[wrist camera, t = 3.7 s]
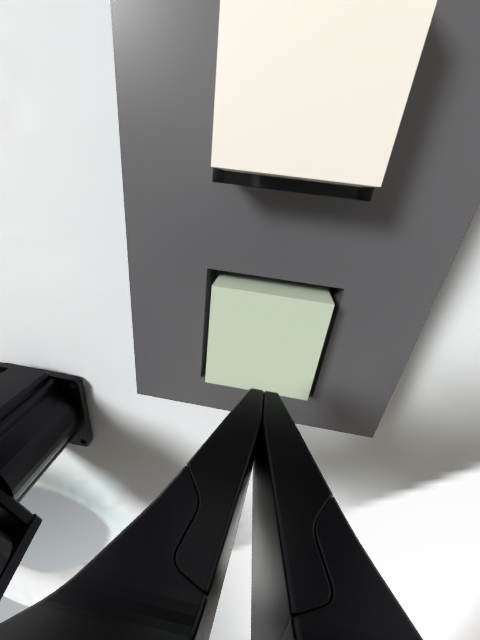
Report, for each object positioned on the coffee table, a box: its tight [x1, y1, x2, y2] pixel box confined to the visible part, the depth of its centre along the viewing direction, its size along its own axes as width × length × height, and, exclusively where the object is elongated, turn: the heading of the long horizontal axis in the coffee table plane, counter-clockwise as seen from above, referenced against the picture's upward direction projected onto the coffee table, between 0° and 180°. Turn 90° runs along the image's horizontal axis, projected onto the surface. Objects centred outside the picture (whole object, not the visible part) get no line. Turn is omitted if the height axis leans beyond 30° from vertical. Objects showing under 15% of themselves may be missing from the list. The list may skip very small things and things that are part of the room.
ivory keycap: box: [211, 0, 437, 187], centre depth 8 cm, size 5×5×2 cm
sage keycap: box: [205, 271, 335, 400], centre depth 12 cm, size 5×5×2 cm
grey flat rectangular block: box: [110, 0, 480, 438], centre depth 10 cm, size 26×12×4 cm, turn 174°
